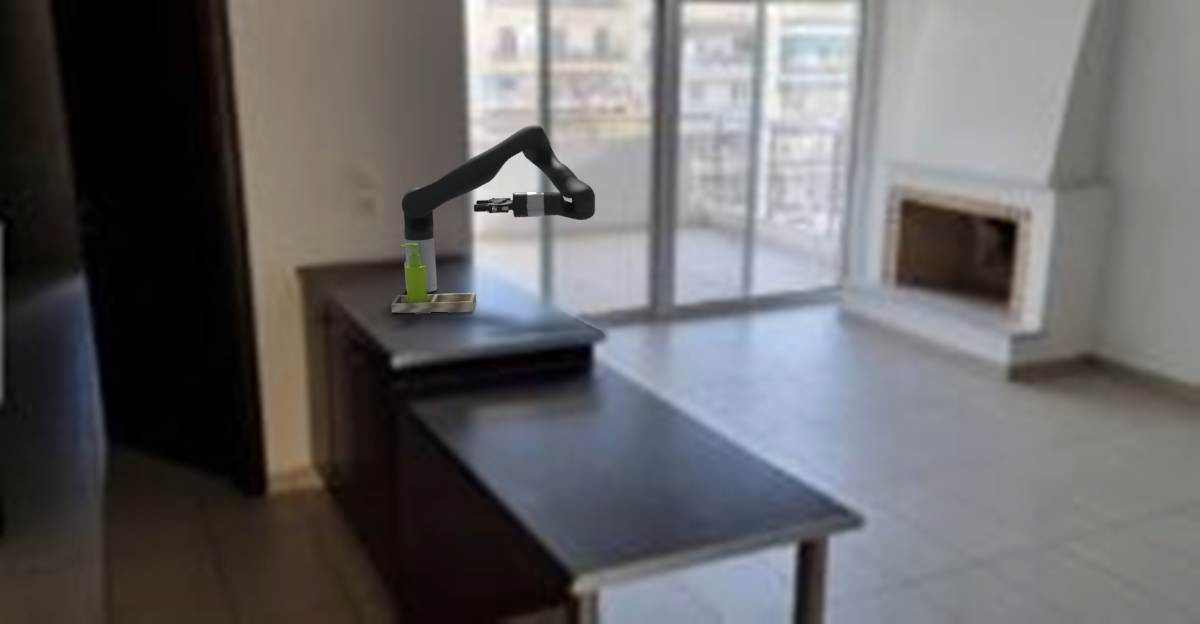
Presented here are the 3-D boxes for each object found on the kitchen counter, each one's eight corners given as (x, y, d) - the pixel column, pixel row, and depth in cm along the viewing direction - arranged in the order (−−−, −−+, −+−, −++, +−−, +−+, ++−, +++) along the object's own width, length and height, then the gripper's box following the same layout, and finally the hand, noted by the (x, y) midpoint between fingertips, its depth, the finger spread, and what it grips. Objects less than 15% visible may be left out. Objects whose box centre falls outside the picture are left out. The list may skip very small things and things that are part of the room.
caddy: (391, 314, 309) (391, 304, 309) (398, 304, 321) (397, 295, 320) (472, 311, 310) (472, 301, 309) (476, 302, 322) (475, 292, 321)
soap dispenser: (405, 307, 318) (401, 242, 313) (428, 306, 318) (424, 241, 314) (404, 311, 312) (399, 245, 307) (427, 310, 313) (423, 245, 308)
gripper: (529, 189, 320) (476, 190, 320) (527, 195, 306) (472, 196, 306) (530, 213, 322) (477, 214, 321) (528, 220, 308) (473, 222, 308)
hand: (475, 206), depth 314 cm, fingers open, 8 cm apart
